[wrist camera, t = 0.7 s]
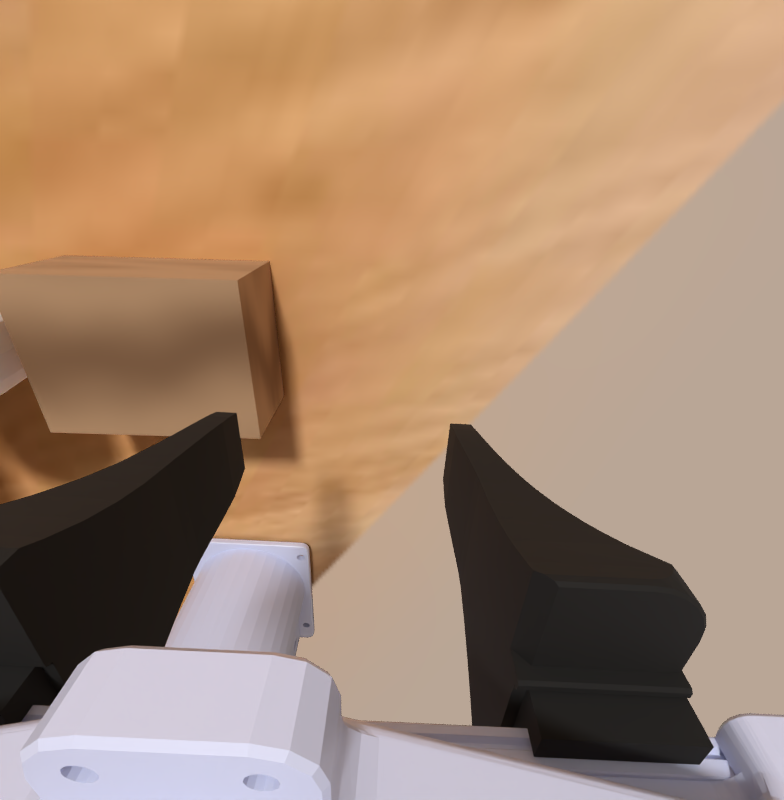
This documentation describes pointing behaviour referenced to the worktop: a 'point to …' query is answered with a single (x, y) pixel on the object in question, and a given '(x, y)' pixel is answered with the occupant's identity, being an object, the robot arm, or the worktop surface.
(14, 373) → the white cylinder
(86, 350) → the tan wooden chunk
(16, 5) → the worktop surface
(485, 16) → the worktop surface
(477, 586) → the robot arm
